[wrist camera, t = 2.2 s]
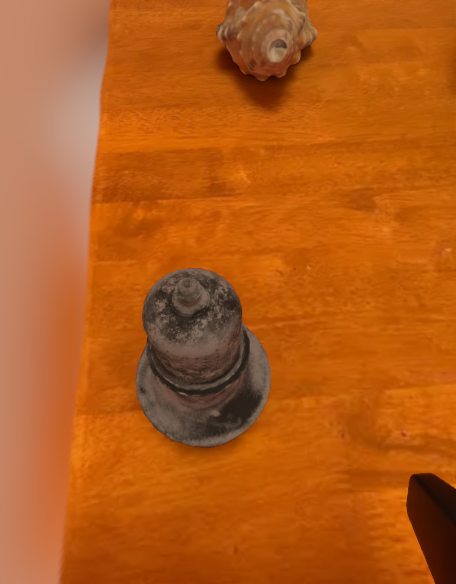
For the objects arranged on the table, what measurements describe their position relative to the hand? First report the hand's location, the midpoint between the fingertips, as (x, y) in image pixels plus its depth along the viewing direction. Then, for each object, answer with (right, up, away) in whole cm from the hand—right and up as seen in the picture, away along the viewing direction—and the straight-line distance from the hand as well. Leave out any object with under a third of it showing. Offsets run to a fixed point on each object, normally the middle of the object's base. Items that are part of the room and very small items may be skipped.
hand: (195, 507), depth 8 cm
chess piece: (0, -1, +13) cm, 13 cm away
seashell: (+4, +23, +25) cm, 34 cm away
